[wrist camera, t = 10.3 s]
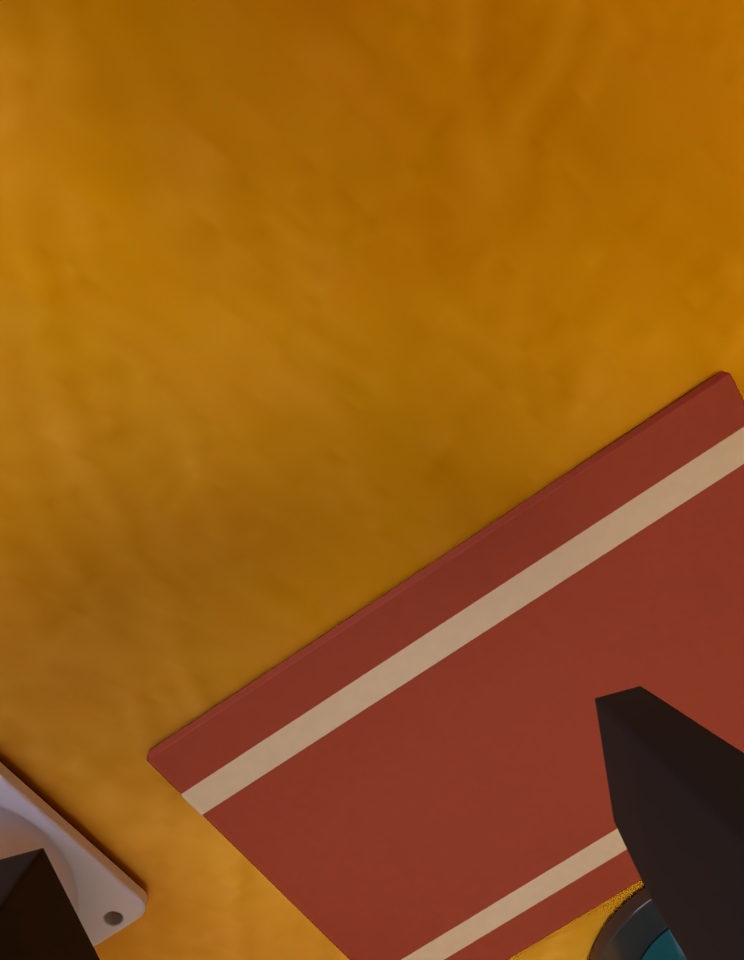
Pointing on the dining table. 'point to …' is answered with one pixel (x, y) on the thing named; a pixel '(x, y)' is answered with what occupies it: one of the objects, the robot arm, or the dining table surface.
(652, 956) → the pot
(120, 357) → the dining table surface
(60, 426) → the dining table surface
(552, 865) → the tea towel
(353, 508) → the dining table surface
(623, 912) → the polished metal trivet
